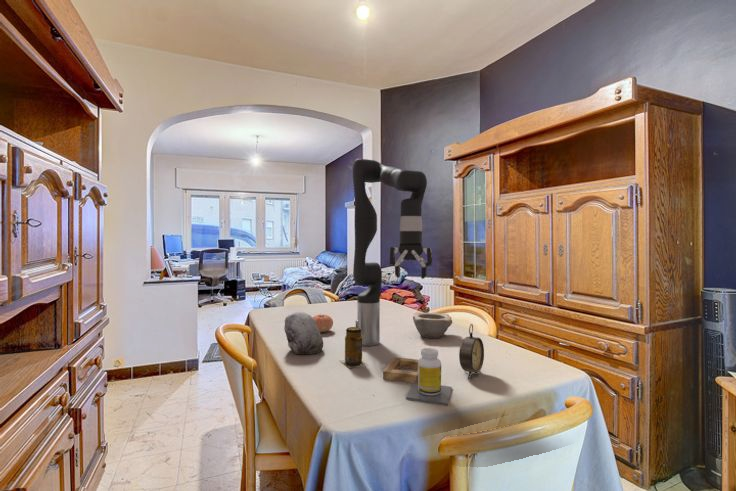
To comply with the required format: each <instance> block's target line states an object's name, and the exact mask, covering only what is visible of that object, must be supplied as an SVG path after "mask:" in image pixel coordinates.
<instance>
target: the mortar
mask: <svg viewBox="0 0 736 491" xmlns="http://www.w3.org/2000/svg"><path fill="white" fill-rule="evenodd" d="M412 319H413V324H414V326H415V329H416V330H417V333H418V334H419V335H420V336H421V337H422V338H426V339H435V340H436V339H440V338H443V336H444V335H445V334H446V332H447V331H448V329H449V327H451V326H452V324H453V319H452V316H450V315H449V314H448V313H440V312H439V313H437V312H414V313H413V315H412Z"/></svg>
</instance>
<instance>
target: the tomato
mask: <svg viewBox="0 0 736 491" xmlns="http://www.w3.org/2000/svg"><path fill="white" fill-rule="evenodd" d="M311 317H312V316H311ZM312 318H313V319H314V321H315V323H316V326H317V328H318V331H319V332H320V334H321V333H323V334H324V333H327V332H329V331H330V330H331V329H332V327H333V325H334V320H333V318H332V317H331V316H330V315H327V314H321V313H320V314H317V315H314V316H313V317H312Z"/></svg>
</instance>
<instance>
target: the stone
mask: <svg viewBox="0 0 736 491" xmlns="http://www.w3.org/2000/svg"><path fill="white" fill-rule="evenodd" d="M283 329H284V332H285V336H286V340H287V342H288V343H287V346H288V347H289V348H290V350H291V352H293V354H296V355H315V354H318V353H319V352H321V351H322V350H323V348H324V340H323V337H322V334H321V333H320V332H319V331H318V328H317V326H316V323H315V321H314V319H313V318H312V315H311V314H309V313H307V312H305V311H295V312H292V313H290V314H288V315H287V316H286V317H285V318H284V328H283Z"/></svg>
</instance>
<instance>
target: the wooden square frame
mask: <svg viewBox="0 0 736 491" xmlns="http://www.w3.org/2000/svg"><path fill="white" fill-rule="evenodd" d="M418 361H419V359H416V358H408V357H407V358H406V357H398V356H394V357H393V358H392V360H391V361H390V362H389V363H388V365H387V366H385V368H384V369H383V370H382V379H383V380H388V381H390V380H391V381H397V382H402V383H403V382H404V383H413V384H414V382H418V371H410V370H403V369H413V370H418ZM400 368H403V369H402V370H401V369H400Z"/></svg>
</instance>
